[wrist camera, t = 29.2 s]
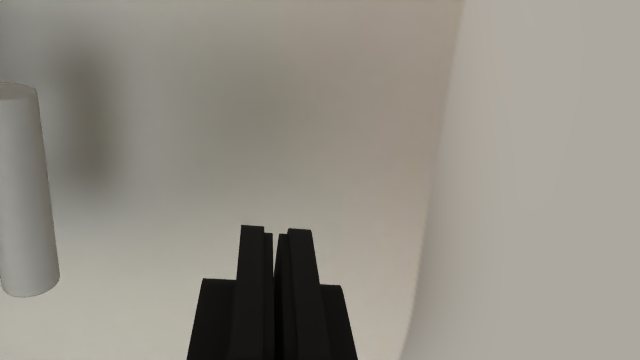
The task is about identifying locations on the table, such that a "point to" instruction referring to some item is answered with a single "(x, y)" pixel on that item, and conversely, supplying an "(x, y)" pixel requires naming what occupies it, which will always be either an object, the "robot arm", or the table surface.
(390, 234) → the table surface
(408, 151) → the table surface
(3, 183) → the drawer
